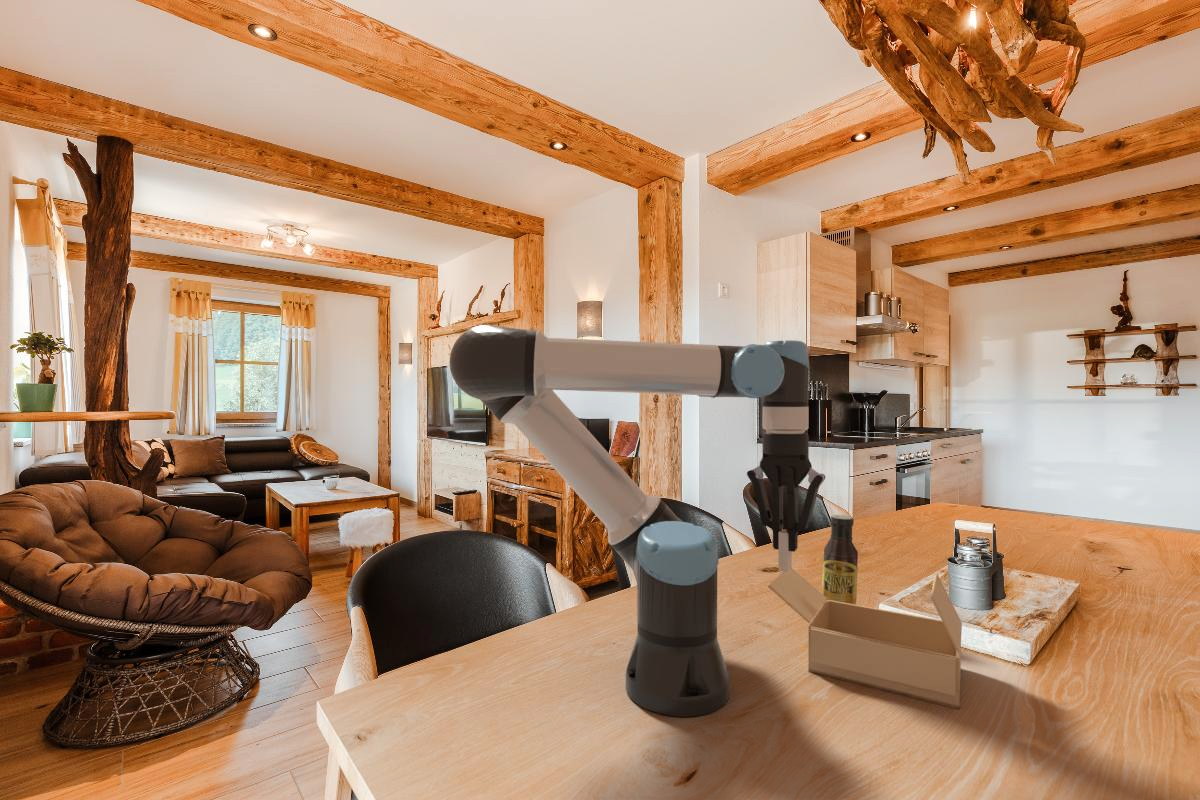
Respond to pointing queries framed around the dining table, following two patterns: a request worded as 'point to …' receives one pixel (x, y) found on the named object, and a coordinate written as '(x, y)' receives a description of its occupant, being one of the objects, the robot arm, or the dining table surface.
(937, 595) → the flap outer
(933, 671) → the carton
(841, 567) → the sauce bottle
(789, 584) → the flap inner
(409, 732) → the dining table surface
